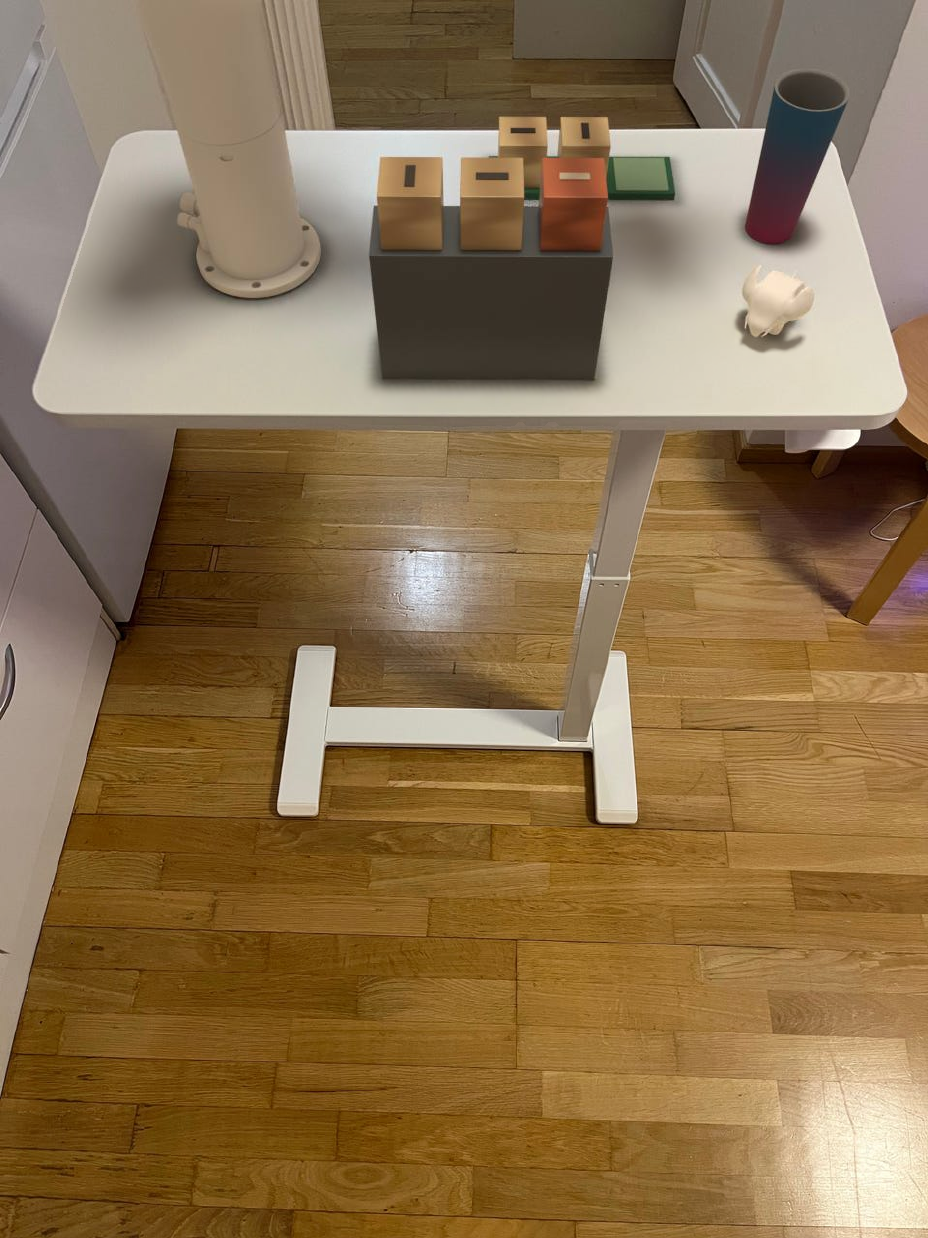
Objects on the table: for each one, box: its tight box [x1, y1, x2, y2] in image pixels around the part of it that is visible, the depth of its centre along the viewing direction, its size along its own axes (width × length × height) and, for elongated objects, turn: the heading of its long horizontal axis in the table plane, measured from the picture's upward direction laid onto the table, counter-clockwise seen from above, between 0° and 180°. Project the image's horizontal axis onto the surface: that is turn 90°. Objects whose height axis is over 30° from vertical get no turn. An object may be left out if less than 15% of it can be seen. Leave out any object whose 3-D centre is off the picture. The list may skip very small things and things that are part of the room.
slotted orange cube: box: [538, 158, 609, 251], centre depth 79 cm, size 5×5×5 cm
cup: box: [744, 67, 851, 245], centre depth 96 cm, size 7×7×15 cm
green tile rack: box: [488, 116, 676, 201], centre depth 104 cm, size 20×6×6 cm, turn 89°
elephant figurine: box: [741, 264, 815, 338], centre depth 92 cm, size 7×8×6 cm
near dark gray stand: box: [368, 156, 614, 381], centre depth 85 cm, size 20×6×19 cm, turn 89°
